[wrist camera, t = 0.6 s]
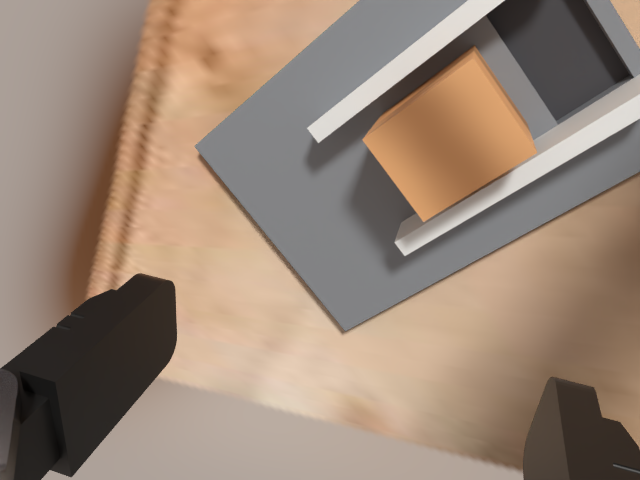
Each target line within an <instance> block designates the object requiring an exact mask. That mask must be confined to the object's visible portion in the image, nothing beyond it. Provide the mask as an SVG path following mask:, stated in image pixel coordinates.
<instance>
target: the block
mask: <svg viewBox="0 0 640 480" xmlns="http://www.w3.org/2000/svg"><path fill="white" fill-rule="evenodd" d="M362 140H363V142H364V143H365V144H366V146H367V147H368V148H369V150H370V151H371V152H372V154H373V155H374V156H375V158H376V159H377V160H378V162H379V163H380V164H381V166H382V167H383V168H384V170H385V171H386V172H387V174H388V175H389V176H390V178H391V179H392V180H393V182H394V183H395V184H396V186H397V187H398V188H399V190H400V191H401V192H402V194H403V195H404V196H405V198H406V199H407V200H408V202H409V203H410V205H411V206H412V207H413V209H414V210H415V211H416V213H417V214H418V215H419V217H420V218H421V219H422V221H423V222H424V221H426V220H428V219H429V218H431V217H433V216H434V215H436V214H438V213H439V212H441V211H442V210H444V209H446V208H447V207H449V206H451V205H452V204H454V203H456V202H457V201H459V200H461V199H462V198H464V197H465V196H467V195H469V194H470V193H472V192H474V191H475V190H477V189H479V188H480V187H482V186H484V185H485V184H487V183H488V182H490V181H492V180H493V179H495V178H497V177H498V176H500V175H502V174H503V173H505V172H507V171H508V170H510V169H512V168H513V167H515V166H516V165H518V164H520V163H521V162H523V161H525V160H526V159H528V158H530V157H531V156H533V155H535V154H536V153H537V150H536V147H535V144H534V141H533V139H532V136H531V133H530V130H529V127H528V124H527V122H526V121H525V119H524V118H523V116H522V115H521V113H520V112H519V110H518V109H517V107H516V106H515V104H514V103H513V101H512V100H511V98H510V97H509V95H508V94H507V92H506V91H505V89H504V88H503V86H502V85H501V84H500V82H499V81H498V79H497V78H496V76H495V75H494V73H493V72H492V70H491V69H490V67H489V66H488V64H487V63H486V61H485V60H484V58H483V57H482V55H481V54H480V52H479V51H478V49H477V48H476V46H475V45H474V46H473V47H471V48H470V49H469V50H467V51H466V52H464V53H463V54H462V55H460V56H459V57H458V58H456V59H455V60H454V61H452V62H451V63H450V64H448V65H447V66H446V67H444V68H443V69H442V70H440V71H439V72H438V73H436V74H435V75H434V76H432V77H431V78H430V79H428V80H427V81H426V82H424V83H423V84H422V85H420V86H419V87H418V88H416V89H415V90H414V91H412V92H411V93H409V94H408V95H407V96H405V97H404V98H403V99H401V100H400V101H399V102H397V103H396V104H395V105H393V106H392V107H391V108H389V109H388V110H387V111H385V112H384V113H383V114H382V115H381V116H380V117H379V119H378V120H377V121H376V122H375V124H374V125H373V126H372V128H371V129H370V130H369V132H368V133H367V134H366V135H365V137H364V138H363V139H362Z"/></svg>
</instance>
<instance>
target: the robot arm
mask: <svg viewBox="0 0 640 480" xmlns="http://www.w3.org/2000/svg"><path fill="white" fill-rule="evenodd" d="M176 341H177V324H176V296H175V286H174V284H173V282H172V281H169V280H165V279H161V278H157V277H153V276H149V275H145V274H141V273H140V274H136V275H135V276H133V277H132V278H131V279H130V280H129V281H127V282H126V283H125V284H124V285H123V286H121V287H120V288H119V289H118V290H113V289H111V290H109V291H106V292H104V293H101V294H99V295H97V296H94V297H92V298H90V299H88V300H87V301H85V302H84V303H83V304H82V305H80V306H79V307H78V308H76V309H75V310H74V311H73V312H71V315H70V316H69V315H68V316H66V317H65V318H64V319H63V320H61V321H60V322H59V323H58V324H57V326H56V327H52V328H51V329H50V330H49V331H48V332H46V333H45V334H44V335H42V336H41V337H40V338H39V339H37V340H36V341H35V342H34V343H32V344H31V345H30V346H29V347H27V348H26V349H25V350H23V352H21V353H20V354H19V355H17V356H16V357H15V358H13V359H12V360H11V361H10V362H8V363H7V364H6V365H4V366H3V367H2V368H0V480H41V479H42V478H43V477H44V476H45V474H46V473H47V472H48V471H49V470H52V471H55V472H58V473H60V474H64V475H66V476H69V477H72V476H73V475H74V474H75V473H76V471H77V470H78V469H79V468H80V467H81V465H82V464H83V463H84V462H85V461H86V460H87V458H88V457H89V456H90V455H91V454H92V453H93V451H94V450H95V449H96V448H97V447H98V446H99V444H100V443H101V442H102V441H103V440H104V438H105V437H106V436H107V435H108V434H109V433H110V431H111V430H112V429H113V428H114V426H115V425H116V424H117V423H118V422H119V421H120V420H121V418H122V417H123V416H124V415H125V414H126V412H127V411H128V410H129V409H130V408H131V406H132V405H133V404H134V403H135V402H136V401H137V400H138V398H139V397H140V396H141V395H142V394H143V392H144V391H145V390H146V389H147V388H148V387H149V385H150V384H151V383H152V382H153V381H154V379H155V378H156V377H157V376H158V375H159V374H160V372H161V371H162V370H163V369H164V368H165V367H166V365H167V364H168V363H169V361H170V359H171V357H172V355H173V353H174V350H175V346H176ZM523 475H524V480H640V450H639V446H638V445H637V444H636V443H635V441H634V440H633V439H632V437H631V436H630V435H629V433H628V432H627V431H626V429H625V428H624V427H623V425H622V424H621V423H620V422H618V421H614V420H610V419H606V418H602V416H601V412H600V408H599V403H598V399H597V395H596V391H595V389H594V388H593V387H591V386H587V385H583V384H579V383H575V382H571V381H567V380H563V379H559V378H555V377H551V378H550V379H549V380H548V382H547V384H546V387H545V389H544V392H543V395H542V397H541V400H540V403H539V405H538V408H537V411H536V414H535V416H534V419H533V422H532V424H531V427H530V430H529V432H528V436H527V439H526V443H525V449H524V457H523Z"/></svg>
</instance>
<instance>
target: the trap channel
mask: <svg viewBox="0 0 640 480" xmlns="http://www.w3.org/2000/svg"><path fill="white" fill-rule="evenodd" d="M474 45H475V46H476V48H477V49H478V51H479V52H480V54H481V55H482V57H483V58H484V60H485V61H486V63H487V64H488V66H489V67H490V69H491V70H492V72H493V73H494V75H495V76H496V78H497V79H498V81H499V82H500V84H501V85H502V86H503V88H504V89H505V91H506V92H507V94H508V95H509V97H510V98H511V100H512V101H513V103H514V104H515V106H516V107H517V109H518V110H519V112H520V113H521V115H522V116H523V118H524V119H525V121H526V122H527V124H528V127H529V130H530V133H531V136H532V139H533V141H534V144H535V147H536V150H537V153H536V154H535V155H533V156H531V157H530V158H528V159H526V160H525V161H523V162H521V163H520V164H518V165H516V166H515V167H513V168H512V169H510V170H508V171H507V172H505V173H503V174H502V175H500V176H498V177H497V178H495V179H493V180H492V181H490V182H488V183H487V184H485V185H484V186H482V187H480V188H479V189H477V190H475V191H474V192H472V193H470V194H469V195H467V196H465V197H464V198H462V199H461V200H459V201H457V202H456V203H454V204H452V205H451V206H449V207H447V208H446V209H444V210H442V211H441V212H439V213H438V214H436V215H434V216H433V217H431V218H429V219H428V220H426V221H424V222H423V221H422V219H421V218H420V217H419V215H418V214H417V213H416V211H415V210H414V209H413V207H412V206H411V205H410V203H409V202H408V200H407V199H406V198H405V196H404V195H403V194H402V192H401V191H400V190H399V188H398V187H397V186H396V184H395V183H394V182H393V180H392V179H391V178H390V176H389V175H388V174H387V172H386V171H385V170H384V168H383V167H382V166H381V164H380V163H379V162H378V160H377V159H376V158H375V156H374V155H373V154H372V152H371V151H370V150H369V148H368V147H367V146H366V144H365V143H364V142H363V140H362V139H363V138H364V137H365V135H366V134H367V133H368V132H369V130H370V129H371V128H372V126H373V125H374V124H375V122H376V121H377V120H378V119H379V117H380V116H381V115H382V114H383V113H384V112H385V111H387V110H388V109H389V108H391V107H392V106H393V105H395V104H396V103H397V102H399V101H400V100H401V99H403V98H404V97H405V96H407V95H408V94H409V93H411V92H412V91H414V90H415V89H416V88H418V87H419V86H420V85H422V84H423V83H424V82H426V81H427V80H428V79H430V78H431V77H432V76H434V75H435V74H436V73H438V72H439V71H440V70H442V69H443V68H444V67H446V66H447V65H448V64H450V63H451V62H452V61H454V60H455V59H456V58H458V57H459V56H460V55H462V54H463V53H464V52H466V51H467V50H469V49H470V48H471V47H473V46H474ZM194 147H195V148H196V149H197V150H198V152H199V153H200V154H201V155H202V156H203V158H204V159H205V160H206V161H207V163H208V164H209V165H210V166H211V167H212V169H213V170H214V171H215V172H216V174H217V175H218V176H219V177H220V178H221V180H222V181H223V182H224V183H225V185H226V186H227V187H228V188H229V189H230V191H231V192H232V193H233V194H234V196H235V197H236V198H237V199H238V201H239V202H240V203H241V204H242V205H243V207H244V208H245V209H246V210H247V212H248V213H249V214H250V215H251V216H252V218H253V219H254V220H255V221H256V223H257V224H258V225H259V226H260V227H261V229H262V230H263V231H264V232H265V234H266V235H267V236H268V237H269V238H270V240H271V241H272V242H273V243H274V245H275V246H276V247H277V248H278V250H279V251H280V252H281V253H282V254H283V256H284V257H285V258H286V259H287V261H288V262H289V263H290V264H291V265H292V267H293V268H294V269H295V270H296V272H297V273H298V274H299V275H300V276H301V278H302V279H303V280H304V281H305V283H306V284H307V285H308V286H309V288H310V289H311V290H312V291H313V292H314V294H315V295H316V296H317V297H318V299H319V300H320V301H321V302H322V303H323V305H324V306H325V307H326V308H327V310H328V311H329V312H330V313H331V314H332V316H333V317H334V318H335V319H336V321H337V322H338V323H339V324H340V325H341V327H342V328H343V329H344V330H345V331H347V330H349V329H350V328H352V327H354V326H356V325H358V324H360V323H362V322H363V321H365V320H367V319H369V318H371V317H373V316H374V315H376V314H378V313H380V312H382V311H384V310H386V309H387V308H389V307H391V306H393V305H395V304H397V303H398V302H400V301H402V300H404V299H406V298H408V297H409V296H411V295H413V294H415V293H417V292H419V291H421V290H422V289H424V288H426V287H428V286H430V285H432V284H433V283H435V282H437V281H439V280H441V279H443V278H445V277H446V276H448V275H450V274H452V273H454V272H456V271H457V270H459V269H461V268H463V267H465V266H467V265H468V264H470V263H472V262H474V261H476V260H478V259H480V258H481V257H483V256H485V255H487V254H489V253H491V252H492V251H494V250H496V249H498V248H500V247H502V246H504V245H505V244H507V243H509V242H511V241H513V240H515V239H516V238H518V237H520V236H522V235H524V234H526V233H528V232H529V231H531V230H533V229H535V228H537V227H539V226H540V225H542V224H544V223H546V222H548V221H550V220H551V219H553V218H555V217H557V216H559V215H561V214H563V213H564V212H566V211H568V210H570V209H572V208H574V207H575V206H577V205H579V204H581V203H583V202H585V201H587V200H588V199H590V198H592V197H594V196H596V195H598V194H599V193H601V192H603V191H605V190H607V189H609V188H610V187H612V186H614V185H616V184H618V183H620V182H622V181H623V180H625V179H627V178H629V177H631V176H633V175H634V174H636V173H638V172H640V49H639V47H638V46H637V44H636V42H635V41H634V39H633V37H632V36H631V34H630V33H629V31H628V29H627V28H626V26H625V24H624V23H623V21H622V19H621V18H620V16H619V15H618V13H617V11H616V10H615V8H614V6H613V5H612V3H611V1H610V0H360V1H358V2H357V3H356V4H355V5H354V6H353V7H352V8H350V9H349V10H348V11H347V12H346V13H345V14H344V15H343V16H341V17H340V18H339V19H338V20H337V21H336V22H335V23H333V24H332V25H331V26H330V27H329V28H328V29H327V30H326V31H324V32H323V33H322V34H321V35H320V36H319V37H318V38H316V39H315V40H314V41H313V42H312V43H311V44H310V45H309V46H307V47H306V48H305V49H304V50H303V51H302V52H301V53H299V54H298V55H297V56H296V57H295V58H294V59H293V60H292V61H290V62H289V63H288V64H287V65H286V66H285V67H284V68H282V69H281V70H280V71H279V72H278V73H277V74H276V75H275V76H273V77H272V78H271V79H270V80H269V81H268V82H267V83H265V84H264V85H263V86H262V87H261V88H260V89H259V90H258V91H256V92H255V93H254V94H253V95H252V96H251V97H250V98H248V99H247V100H246V101H245V102H244V103H243V104H242V105H241V106H239V107H238V108H237V109H236V110H235V111H234V112H233V113H231V114H230V115H229V116H228V117H227V118H226V119H225V120H224V121H222V122H221V123H220V124H219V125H218V126H217V127H216V128H214V129H213V130H212V131H211V132H210V133H209V134H208V135H207V136H205V137H204V138H203V139H202V140H201V141H200V142H199V143H198V144H196V145H195V146H194Z"/></svg>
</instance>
